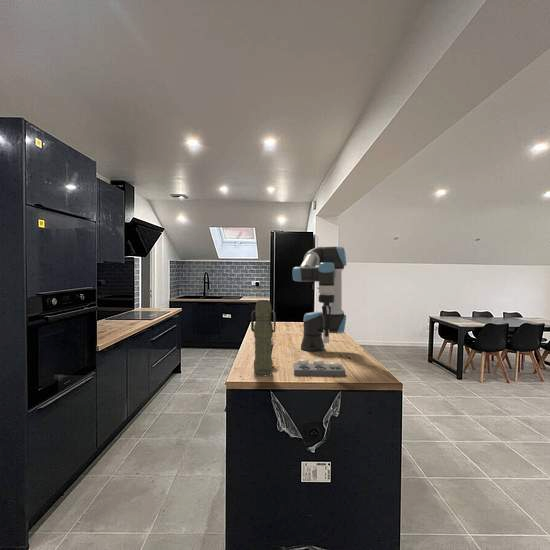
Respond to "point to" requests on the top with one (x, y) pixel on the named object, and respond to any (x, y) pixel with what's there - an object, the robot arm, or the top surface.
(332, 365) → the button one dot
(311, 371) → the button panel
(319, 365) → the button three dots
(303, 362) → the button two dots
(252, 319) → the thermos
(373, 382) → the top surface
